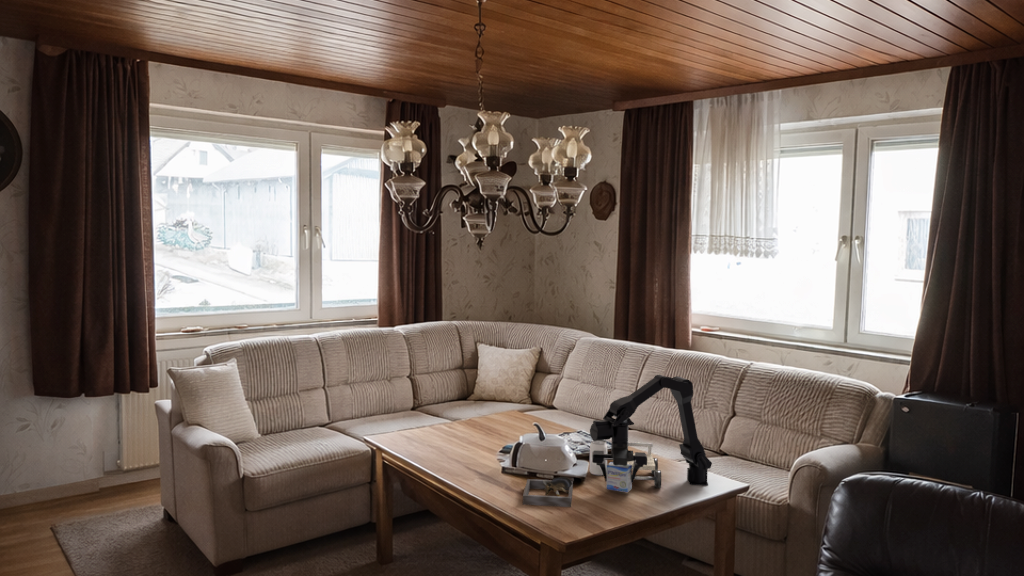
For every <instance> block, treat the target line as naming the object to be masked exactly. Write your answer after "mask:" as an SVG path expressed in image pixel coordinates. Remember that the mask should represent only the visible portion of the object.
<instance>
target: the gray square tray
mask: <svg viewBox="0 0 1024 576" xmlns="http://www.w3.org/2000/svg"><path fill="white" fill-rule="evenodd" d="M543 480H544V479H529V478H527V479H526V483H525V487H524V490H523V495H522V505H526V506H527V505H529V506H546V507H560V508H561V507H562V508H572V499H573V487H574V484H572V485H571V487H564V489H565V491H567V492H569V494H568V495H567V496H560V495H559V496H558V495H556V496H555V495H539V494H536V495H535V494H529V492H530V489H531V490H534V489H535V490H544V489H543V488H545V486H544V485H543V484H544V483H543ZM546 480H547V481H548V482H549V483H551V481H552V480H553V479H552V480H551V479H550V480H549V479H546ZM571 481H572V480H571ZM572 483H574V481H572ZM545 489H546V488H545Z"/></svg>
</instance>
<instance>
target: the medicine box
mask: <svg viewBox="0 0 1024 576" xmlns="http://www.w3.org/2000/svg"><path fill="white" fill-rule="evenodd" d="M632 471H633V469H632V465H626V466H623V465H614V464H613V461H610V462H609V463H607V473H606V475H607V482H606V490H608V491H615V492H616V491H617V492H622V493H628V492H630V491H631V490H632V488H633V487H632V486H633V484H632Z"/></svg>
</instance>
